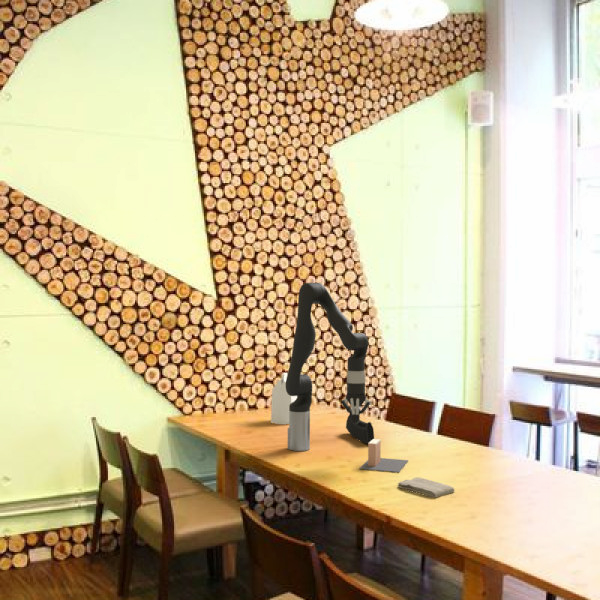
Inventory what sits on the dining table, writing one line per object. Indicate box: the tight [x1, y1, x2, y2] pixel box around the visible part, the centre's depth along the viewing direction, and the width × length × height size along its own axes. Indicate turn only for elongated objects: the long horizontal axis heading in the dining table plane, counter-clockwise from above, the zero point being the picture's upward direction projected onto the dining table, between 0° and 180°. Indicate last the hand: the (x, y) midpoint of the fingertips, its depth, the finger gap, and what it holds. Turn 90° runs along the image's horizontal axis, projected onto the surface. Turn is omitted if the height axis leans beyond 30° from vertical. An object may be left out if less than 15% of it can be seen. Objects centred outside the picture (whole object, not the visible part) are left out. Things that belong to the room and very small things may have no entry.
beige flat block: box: [367, 438, 382, 466], centre depth 300 cm, size 3×9×9 cm, turn 161°
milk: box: [270, 372, 297, 425], centre depth 391 cm, size 12×12×26 cm
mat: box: [358, 457, 409, 474], centre depth 299 cm, size 16×20×1 cm
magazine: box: [345, 413, 375, 444], centre depth 348 cm, size 17×3×30 cm
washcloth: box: [397, 476, 455, 499], centre depth 264 cm, size 12×18×3 cm, turn 42°
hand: (355, 423), depth 302 cm, fingers closed
